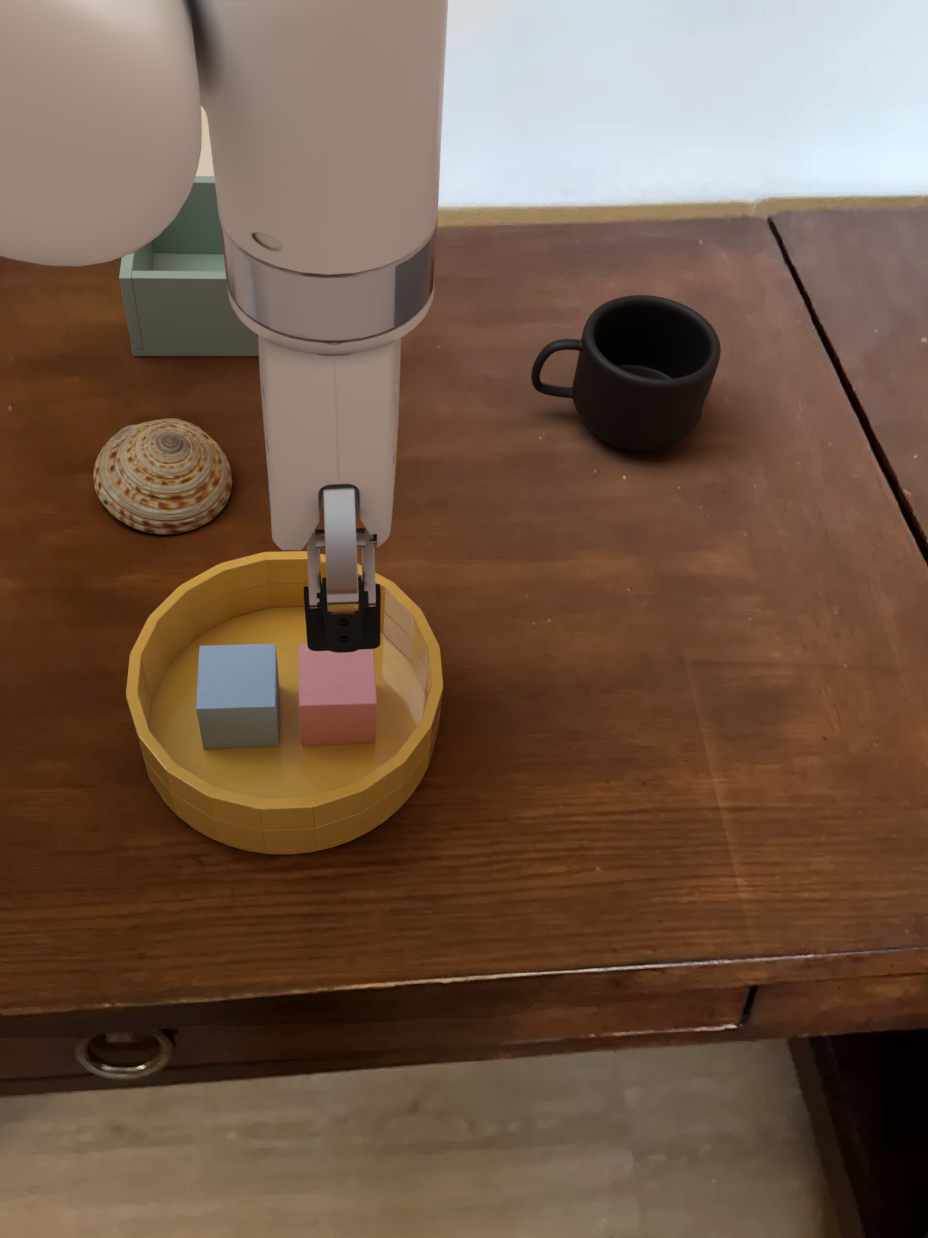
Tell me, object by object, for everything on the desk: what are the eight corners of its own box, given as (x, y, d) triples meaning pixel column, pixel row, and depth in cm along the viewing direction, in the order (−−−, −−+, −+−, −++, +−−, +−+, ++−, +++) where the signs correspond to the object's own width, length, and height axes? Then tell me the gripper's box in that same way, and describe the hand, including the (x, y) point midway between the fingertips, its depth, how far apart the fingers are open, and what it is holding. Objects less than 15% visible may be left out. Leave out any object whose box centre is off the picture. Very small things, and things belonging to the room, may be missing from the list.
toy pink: (301, 746, 65) (299, 706, 62) (300, 684, 68) (298, 642, 65) (375, 743, 66) (376, 703, 63) (372, 682, 68) (373, 641, 65)
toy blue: (203, 749, 65) (195, 709, 62) (206, 687, 67) (199, 645, 64) (278, 747, 65) (275, 706, 62) (279, 685, 68) (275, 643, 65)
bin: (132, 356, 84) (118, 277, 79) (145, 253, 91) (132, 174, 86) (301, 356, 85) (298, 279, 80) (301, 254, 92) (298, 177, 87)
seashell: (172, 389, 79) (233, 418, 73) (199, 465, 82) (258, 498, 77) (58, 441, 75) (113, 475, 70) (90, 518, 79) (145, 557, 73)
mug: (688, 376, 87) (711, 295, 81) (705, 467, 82) (732, 387, 76) (522, 369, 86) (534, 286, 81) (528, 460, 81) (541, 378, 75)
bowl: (128, 862, 61) (113, 815, 57) (150, 608, 71) (139, 553, 67) (447, 848, 63) (454, 801, 59) (426, 602, 73) (431, 548, 69)
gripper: (230, 118, 48) (261, 432, 62) (215, 426, 38) (257, 720, 51) (419, 120, 49) (409, 429, 62) (456, 421, 38) (434, 713, 52)
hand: (340, 560), depth 57 cm, fingers open, 9 cm apart
